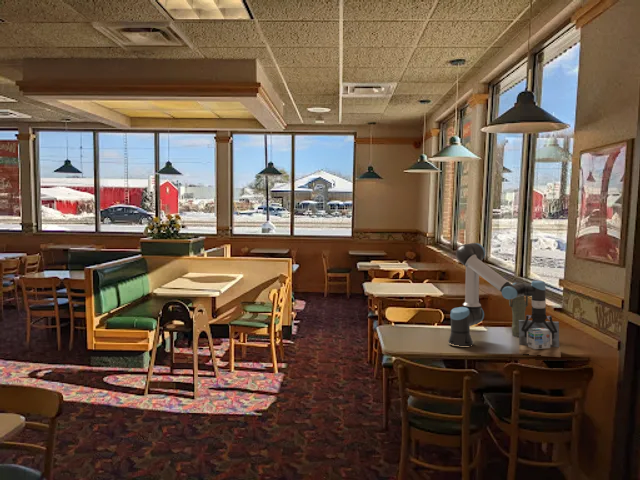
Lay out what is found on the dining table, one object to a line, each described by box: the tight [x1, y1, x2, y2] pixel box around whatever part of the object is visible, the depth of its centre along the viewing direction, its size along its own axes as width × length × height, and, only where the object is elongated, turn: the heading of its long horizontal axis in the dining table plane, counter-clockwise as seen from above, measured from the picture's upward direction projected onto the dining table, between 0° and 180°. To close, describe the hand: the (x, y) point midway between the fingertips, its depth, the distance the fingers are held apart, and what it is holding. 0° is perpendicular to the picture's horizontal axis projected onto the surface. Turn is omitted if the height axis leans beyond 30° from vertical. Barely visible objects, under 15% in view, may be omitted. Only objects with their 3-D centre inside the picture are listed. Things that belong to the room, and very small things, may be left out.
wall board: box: [518, 319, 562, 358], centre depth 285 cm, size 22×12×18 cm, turn 68°
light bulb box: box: [528, 328, 550, 349], centre depth 283 cm, size 11×7×11 cm, turn 101°
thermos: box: [508, 296, 529, 338], centre depth 324 cm, size 9×12×35 cm
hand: (539, 343), depth 283 cm, fingers closed on light bulb box, 12 cm apart
